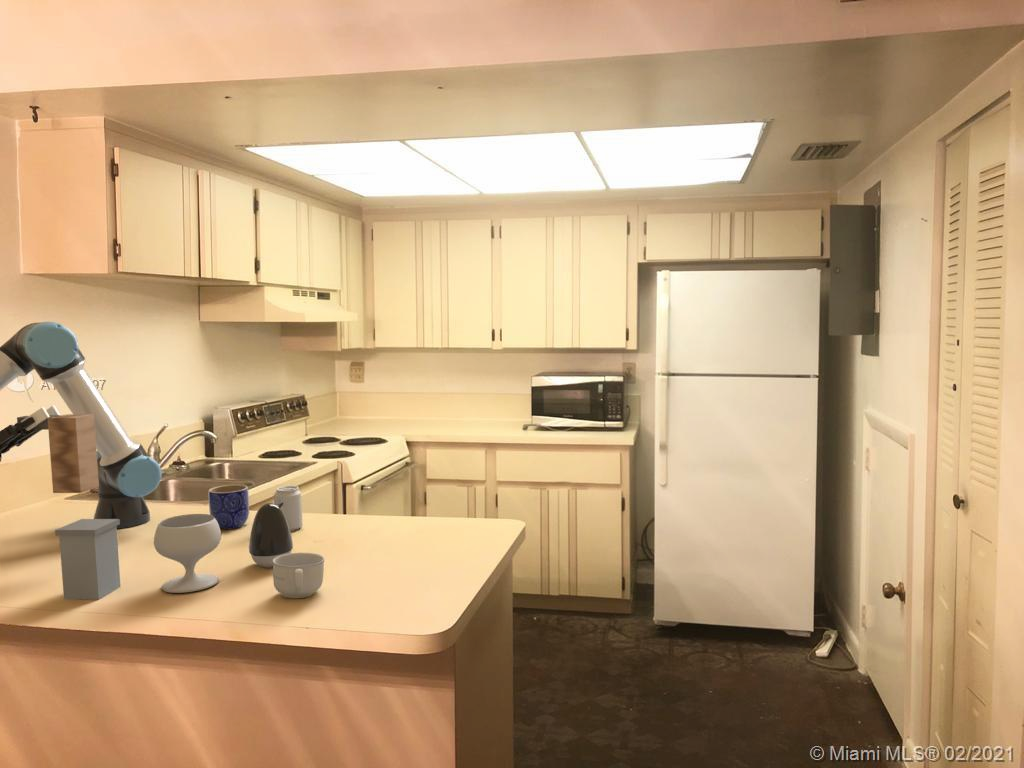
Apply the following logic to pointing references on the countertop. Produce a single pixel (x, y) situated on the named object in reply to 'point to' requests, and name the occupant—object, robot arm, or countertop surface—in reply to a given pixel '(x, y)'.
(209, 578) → the chalice
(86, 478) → the walnut handle block
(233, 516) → the planter
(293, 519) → the can
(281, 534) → the pump dispenser
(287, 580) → the teacup
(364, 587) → the countertop surface
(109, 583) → the stand
